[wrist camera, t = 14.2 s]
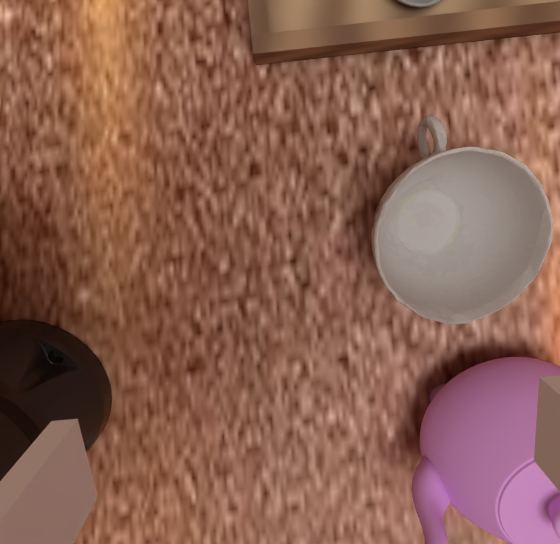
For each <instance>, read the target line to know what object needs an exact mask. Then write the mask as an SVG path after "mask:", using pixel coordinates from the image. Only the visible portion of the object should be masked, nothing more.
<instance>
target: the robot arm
mask: <svg viewBox="0 0 560 544" xmlns="http://www.w3.org/2000/svg"><path fill="white" fill-rule="evenodd" d="M110 410H111V390H110V385H109V381H108V378H107V375H106V373H105V371H104V369H103V367H102V365H101V364H100V362H99V361H98V359H97V358H96V357H95V355H94V354H93V353H92V352H91V351H90V350H89V349H88V348H87V347H86V346H85V345H84V344H83V343H82V342H81V341H79V340H78V339H77V338H75V337H74V336H72V335H71V334H69V333H67V332H65V331H63V330H61V329H59V328H57V327H54V326H52V325H49V324H45V323H41V322H37V321H29V320H12V321H5V322H0V544H74V542H75V540H76V538H77V536H78V535H79V533H80V531H81V529H82V527H83V525H84V523H85V521H86V519H87V517H88V515H89V514H90V512H91V510H92V508H93V506H94V504H95V502H96V500H97V498H98V496H97V492H96V488H95V484H94V480H93V477H92V473H91V469H90V465H89V461H88V457H87V453H86V452H87V451H88V450H89V449H90V448H91V447H92V446H93V444H94V443H95V441H96V440H97V438H98V437H99V435H100V434H101V432H102V430H103V429H104V427H105V425H106V423H107V421H108V418H109V414H110ZM534 461H535V463H536V464H537V465H538V466H539V467H540V469H541V470H542V471H543V472H544V473H545V475H546V476H547V477H548V478H549V479H550V481H551V482H552V483H553V484H554V485H555V487H556V488H557V489H558V490H559V491H560V376H549V377H539V391H538V406H537V420H536V435H535V449H534Z"/></svg>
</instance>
